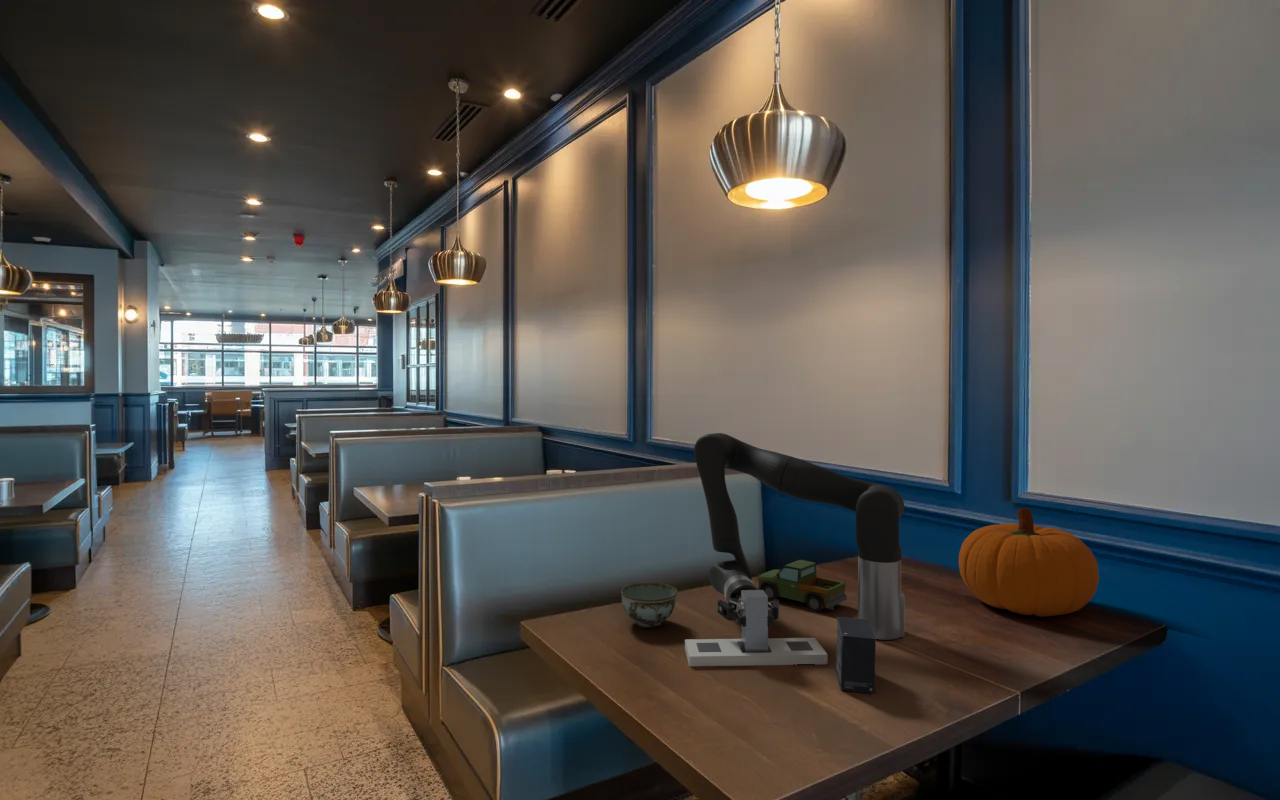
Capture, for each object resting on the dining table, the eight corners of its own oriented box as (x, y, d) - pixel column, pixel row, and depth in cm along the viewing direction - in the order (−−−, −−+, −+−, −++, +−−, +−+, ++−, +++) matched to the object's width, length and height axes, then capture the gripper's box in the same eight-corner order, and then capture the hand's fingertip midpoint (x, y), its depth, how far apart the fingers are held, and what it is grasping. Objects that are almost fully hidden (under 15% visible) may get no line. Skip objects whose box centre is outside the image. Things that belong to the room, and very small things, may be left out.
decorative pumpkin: (1120, 611, 167) (1121, 511, 167) (1062, 637, 150) (1064, 525, 150) (995, 581, 193) (996, 494, 192) (934, 600, 176) (935, 505, 175)
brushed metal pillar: (763, 650, 142) (763, 589, 142) (767, 659, 138) (767, 596, 137) (741, 651, 142) (741, 590, 142) (745, 660, 137) (745, 597, 137)
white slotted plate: (814, 646, 145) (814, 637, 145) (827, 664, 136) (827, 654, 136) (684, 648, 144) (684, 639, 144) (689, 666, 135) (689, 656, 135)
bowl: (613, 617, 163) (613, 584, 163) (665, 611, 168) (665, 579, 167) (630, 637, 151) (630, 601, 150) (686, 630, 155) (686, 595, 155)
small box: (877, 694, 122) (877, 637, 122) (840, 691, 124) (840, 635, 124) (869, 670, 133) (869, 618, 133) (835, 667, 134) (835, 615, 134)
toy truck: (777, 588, 187) (777, 553, 186) (849, 606, 172) (849, 567, 172) (754, 598, 178) (754, 561, 178) (828, 617, 164) (828, 576, 163)
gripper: (710, 579, 154) (722, 604, 136) (773, 578, 154) (792, 603, 137) (711, 612, 154) (722, 640, 137) (773, 611, 154) (792, 639, 137)
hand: (757, 621), depth 137 cm, fingers closed on brushed metal pillar, 4 cm apart
